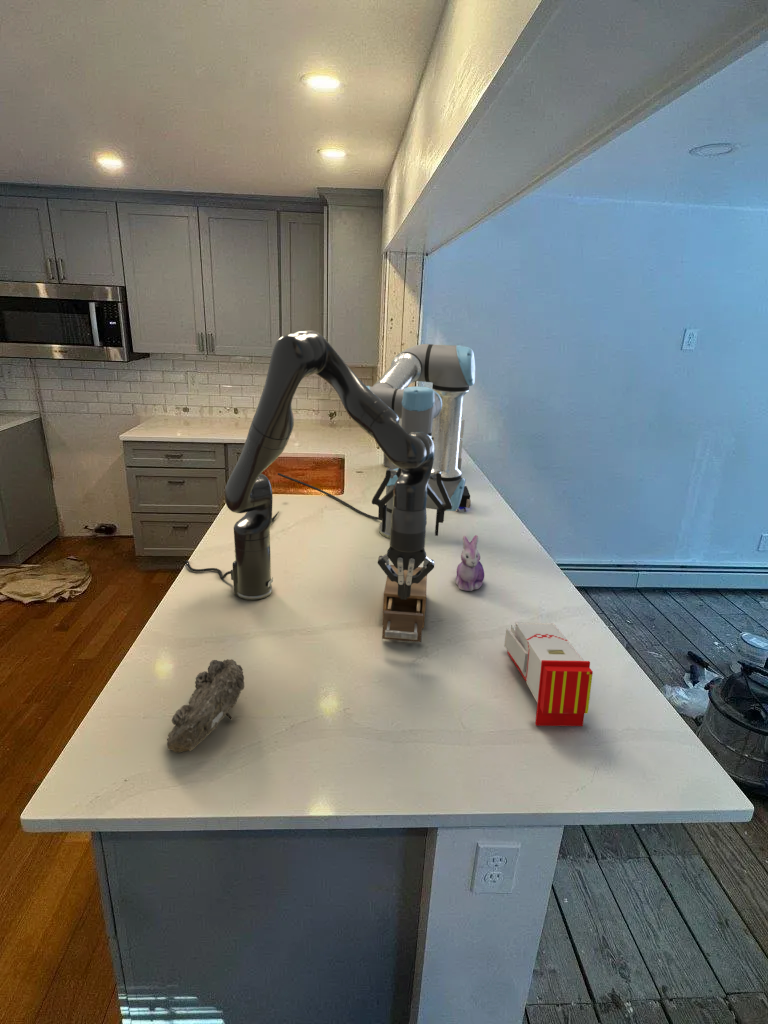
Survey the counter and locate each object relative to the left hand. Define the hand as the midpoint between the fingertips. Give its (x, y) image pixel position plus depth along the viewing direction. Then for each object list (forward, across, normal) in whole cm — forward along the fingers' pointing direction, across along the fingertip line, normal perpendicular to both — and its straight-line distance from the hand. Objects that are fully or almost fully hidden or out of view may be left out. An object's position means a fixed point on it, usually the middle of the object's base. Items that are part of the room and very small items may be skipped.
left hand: (403, 597), depth 127 cm
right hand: (-7, 0, +23) cm, 24 cm away
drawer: (+13, 0, +8) cm, 15 cm away
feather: (+14, -51, +82) cm, 98 cm away
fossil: (+14, -34, -28) cm, 46 cm away
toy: (+14, +30, -8) cm, 34 cm away
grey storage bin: (+14, 0, +153) cm, 153 cm away
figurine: (+14, +18, +37) cm, 43 cm away
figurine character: (+14, +18, +105) cm, 108 cm away
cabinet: (+14, 0, +19) cm, 24 cm away
